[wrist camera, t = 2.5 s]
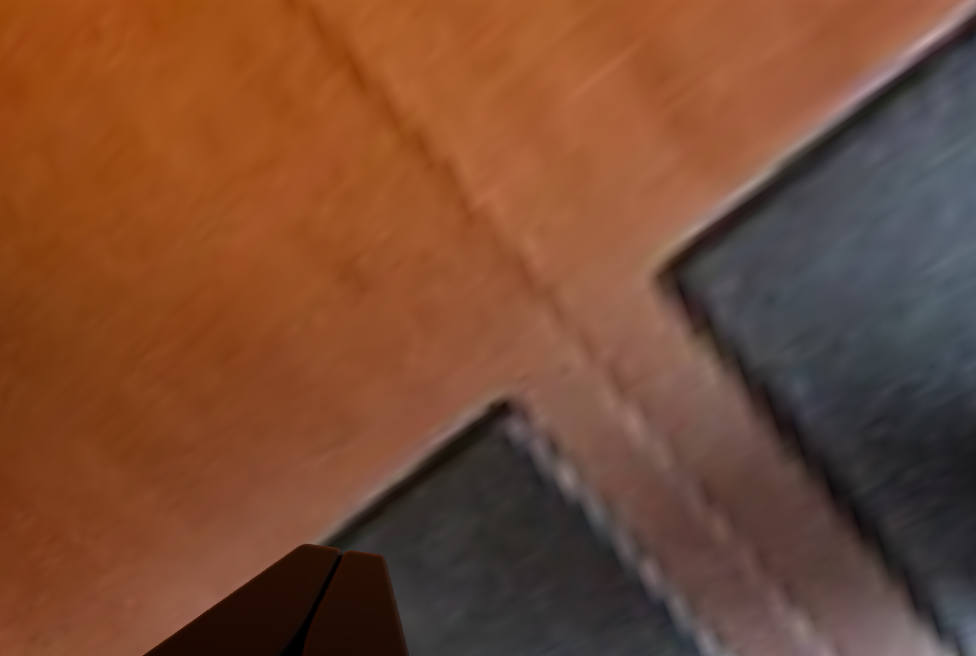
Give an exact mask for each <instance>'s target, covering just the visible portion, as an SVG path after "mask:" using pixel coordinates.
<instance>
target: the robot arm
mask: <svg viewBox="0 0 976 656" xmlns="http://www.w3.org/2000/svg"><path fill="white" fill-rule="evenodd" d="M143 656H409V653H408V649H407V645H406V640H405V636H404V632H403V628H402V624H401V620H400V616H399V612H398V608H397V604H396V600H395V596H394V592H393V588H392V583H391V579H390V575H389V571H388V567H387V563H386V560H385V558H384V557H383V556H382V555H379V554H373V553H366V552H359V551H352V550H350V551H347V552H345V553H344V554H342V552H341V551H340V550H339V549H337V548H332V547H326V546H319V545H312V544H303V545H301V546H299V547H297V548H296V549H294V550H293V551H291V552H290V553H289V554H287V555H286V556H284V557H283V558H281V559H280V560H279V561H277V562H276V563H274V564H273V565H271V566H270V567H269V568H267V569H266V570H264V571H263V572H261V573H260V574H259V575H257V576H256V577H254V578H253V579H251V580H250V581H249V582H247V583H246V584H244V585H243V586H241V587H240V588H239V589H237V590H236V591H234V592H233V593H231V594H230V595H229V596H227V597H226V598H224V599H223V600H221V601H220V602H219V603H217V604H216V605H214V606H213V607H212V608H210V609H209V610H207V611H206V612H204V613H203V614H202V615H200V616H199V617H197V618H196V619H194V620H193V621H192V622H190V623H189V624H187V625H186V626H184V627H183V628H182V629H180V630H179V631H177V632H176V633H174V634H173V635H172V636H170V637H169V638H167V639H166V640H164V641H163V642H162V643H160V644H159V645H157V646H156V647H154V648H153V649H152V650H150V651H149V652H147V653H146V654H144V655H143Z"/></svg>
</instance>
